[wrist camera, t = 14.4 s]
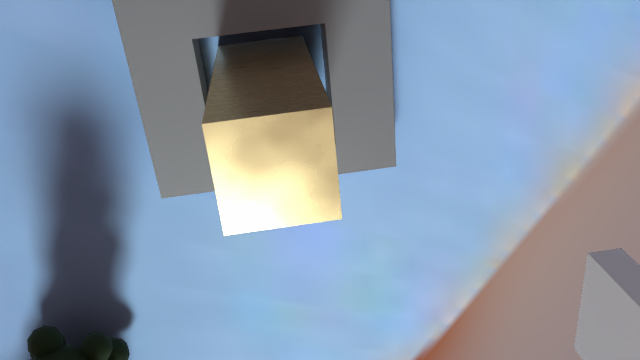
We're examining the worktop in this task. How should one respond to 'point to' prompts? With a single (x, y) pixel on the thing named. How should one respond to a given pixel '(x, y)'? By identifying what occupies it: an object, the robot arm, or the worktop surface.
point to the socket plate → (241, 17)
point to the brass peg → (270, 137)
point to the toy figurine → (92, 356)
